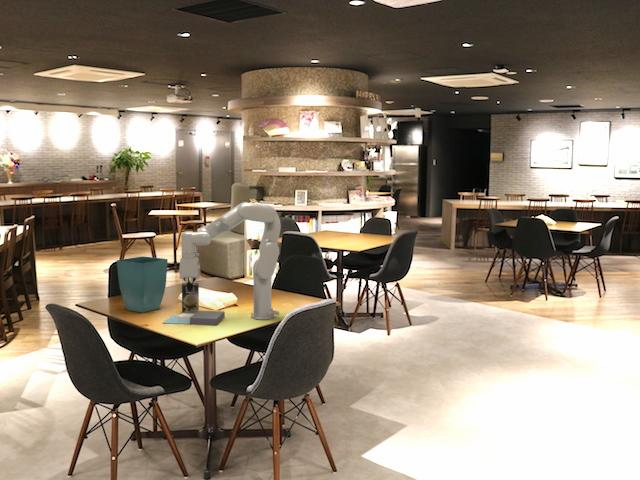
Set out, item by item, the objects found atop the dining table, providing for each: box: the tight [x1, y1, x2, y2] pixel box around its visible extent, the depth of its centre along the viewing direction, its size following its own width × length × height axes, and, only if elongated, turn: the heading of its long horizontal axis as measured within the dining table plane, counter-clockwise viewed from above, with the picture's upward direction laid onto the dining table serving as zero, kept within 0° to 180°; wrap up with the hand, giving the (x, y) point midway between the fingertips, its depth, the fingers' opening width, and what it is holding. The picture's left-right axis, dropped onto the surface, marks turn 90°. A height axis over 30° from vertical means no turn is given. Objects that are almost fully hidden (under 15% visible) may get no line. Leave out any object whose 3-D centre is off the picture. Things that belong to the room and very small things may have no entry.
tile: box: [177, 312, 194, 321], centre depth 331 cm, size 8×7×2 cm
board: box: [189, 309, 226, 326], centre depth 329 cm, size 14×16×4 cm
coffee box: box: [181, 282, 200, 314], centre depth 346 cm, size 9×6×16 cm
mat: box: [162, 314, 191, 325], centre depth 331 cm, size 14×16×1 cm
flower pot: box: [116, 255, 169, 313], centre depth 351 cm, size 20×20×28 cm
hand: (190, 290), depth 329 cm, fingers closed
